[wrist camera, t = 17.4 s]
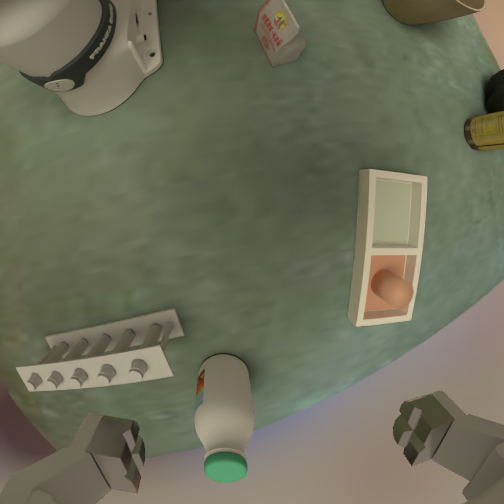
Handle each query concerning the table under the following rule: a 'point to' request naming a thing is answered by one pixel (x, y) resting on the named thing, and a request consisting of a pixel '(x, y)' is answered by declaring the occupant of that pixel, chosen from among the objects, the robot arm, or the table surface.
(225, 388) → the milk bottle
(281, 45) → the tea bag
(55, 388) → the test tube rack
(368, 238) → the sorting tray
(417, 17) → the plant pot
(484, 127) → the sauce bottle
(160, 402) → the table surface
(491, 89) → the squash
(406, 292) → the brown egg
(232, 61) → the table surface
